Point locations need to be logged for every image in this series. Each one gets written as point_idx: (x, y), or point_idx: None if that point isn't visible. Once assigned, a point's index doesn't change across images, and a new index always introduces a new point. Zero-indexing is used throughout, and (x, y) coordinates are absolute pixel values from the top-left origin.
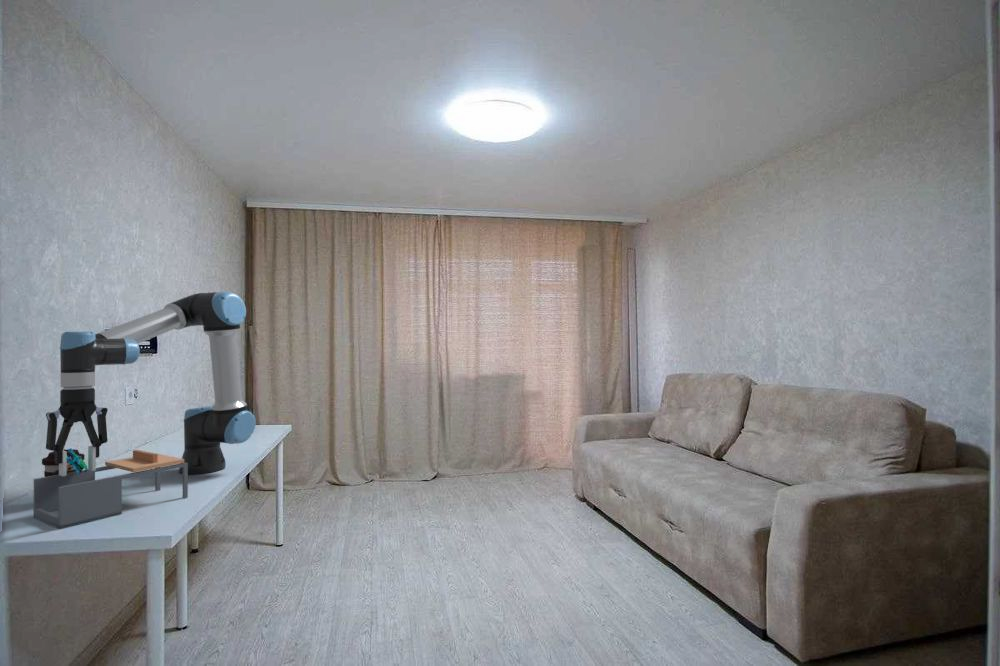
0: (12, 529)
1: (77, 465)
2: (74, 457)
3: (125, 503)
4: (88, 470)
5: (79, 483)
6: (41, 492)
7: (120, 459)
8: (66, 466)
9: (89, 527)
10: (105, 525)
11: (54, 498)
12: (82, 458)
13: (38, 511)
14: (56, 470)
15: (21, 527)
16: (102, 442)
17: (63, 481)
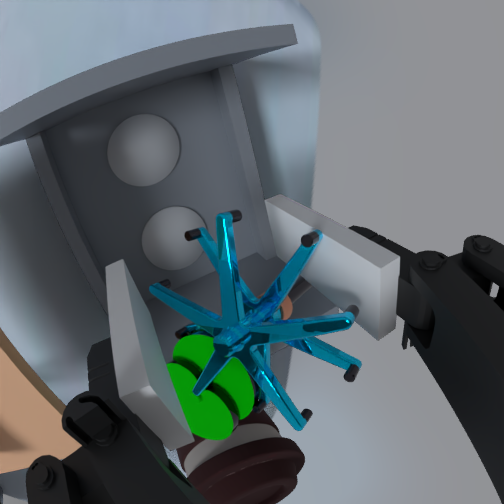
0: (313, 162)
1: (233, 210)
2: (243, 403)
3: (24, 275)
4: None
5: (203, 48)
6: None
7: None
8: (297, 217)
9: (141, 13)
10: (97, 4)
11: None
12: (191, 482)
13: (270, 229)
14: (307, 288)
15: (296, 166)
16: (71, 467)
17: None
